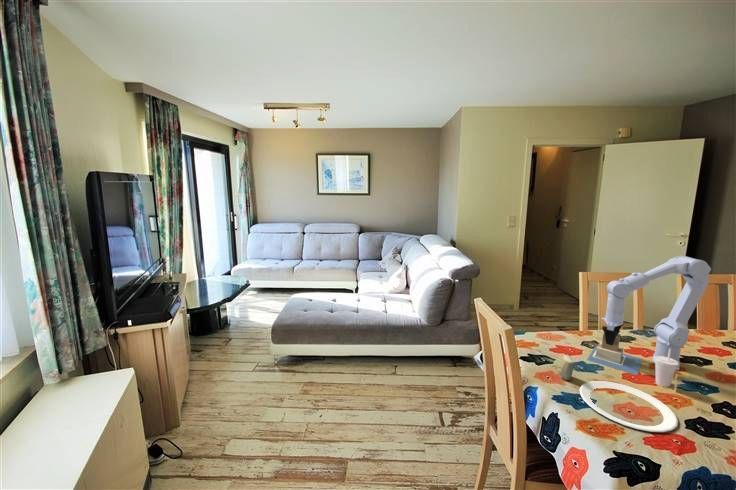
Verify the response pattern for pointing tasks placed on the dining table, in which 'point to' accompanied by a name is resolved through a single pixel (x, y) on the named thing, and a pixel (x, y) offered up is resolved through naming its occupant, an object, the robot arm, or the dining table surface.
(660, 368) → the smoothie
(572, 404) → the dining table surface
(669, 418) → the white flat ring
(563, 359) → the grey small block
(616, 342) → the walnut block
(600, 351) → the birch block
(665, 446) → the dining table surface
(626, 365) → the board
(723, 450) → the dining table surface
